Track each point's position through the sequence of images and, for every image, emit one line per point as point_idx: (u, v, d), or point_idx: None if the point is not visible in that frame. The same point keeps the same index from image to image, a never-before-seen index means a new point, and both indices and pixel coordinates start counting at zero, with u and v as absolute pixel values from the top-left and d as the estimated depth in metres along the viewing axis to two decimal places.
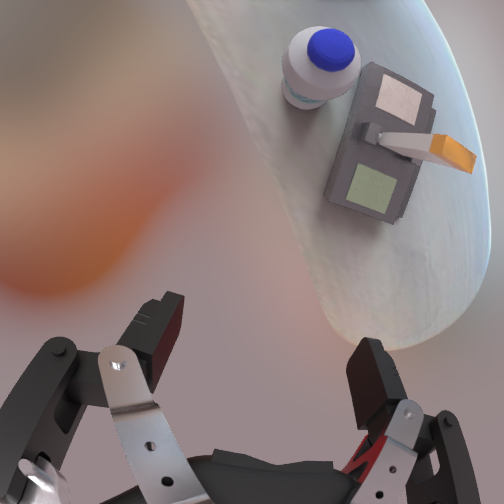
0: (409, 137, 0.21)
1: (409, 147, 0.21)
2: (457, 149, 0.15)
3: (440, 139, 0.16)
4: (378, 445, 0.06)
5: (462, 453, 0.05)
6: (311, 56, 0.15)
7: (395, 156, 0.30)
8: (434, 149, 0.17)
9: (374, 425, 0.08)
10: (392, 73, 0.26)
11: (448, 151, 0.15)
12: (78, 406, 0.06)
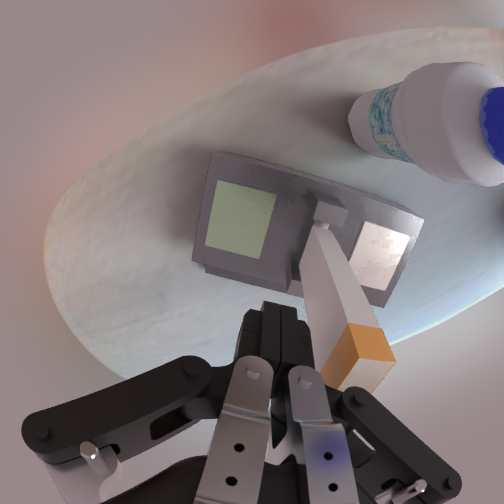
0: (349, 276, 0.14)
1: (333, 277, 0.14)
2: (366, 385, 0.09)
3: (381, 347, 0.09)
4: (293, 433, 0.06)
5: (393, 426, 0.06)
6: None
7: (292, 252, 0.24)
8: (358, 336, 0.09)
9: (275, 392, 0.09)
10: (410, 249, 0.23)
11: (363, 371, 0.09)
12: (183, 422, 0.07)
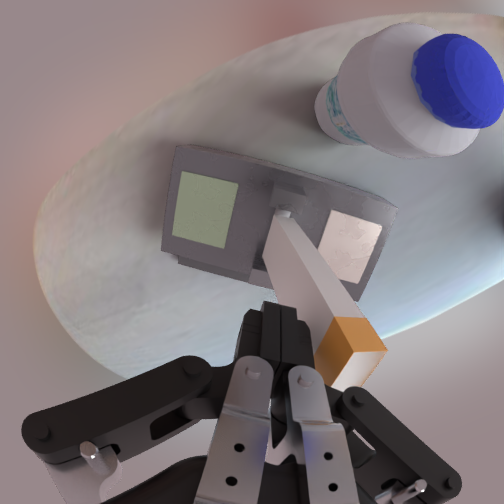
0: (322, 266, 0.14)
1: (308, 269, 0.14)
2: (360, 376, 0.09)
3: (371, 337, 0.09)
4: (293, 433, 0.06)
5: (393, 426, 0.06)
6: None
7: (257, 242, 0.24)
8: (347, 329, 0.10)
9: (275, 392, 0.09)
10: (383, 239, 0.23)
11: (357, 363, 0.09)
12: (183, 422, 0.07)
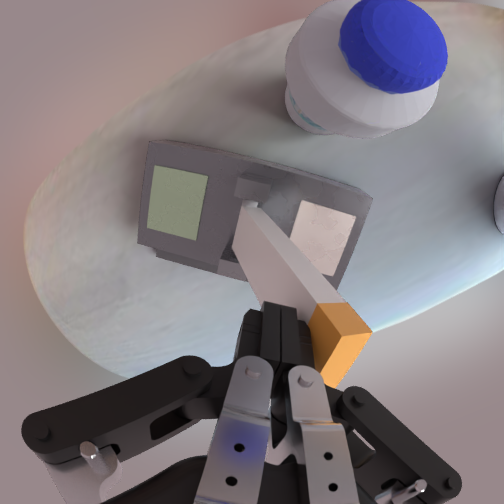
0: (297, 254, 0.15)
1: (284, 258, 0.14)
2: (348, 358, 0.10)
3: (355, 320, 0.10)
4: (293, 434, 0.06)
5: (393, 426, 0.06)
6: None
7: (228, 234, 0.24)
8: (332, 315, 0.10)
9: (275, 392, 0.09)
10: (358, 230, 0.23)
11: (345, 346, 0.10)
12: (183, 423, 0.07)
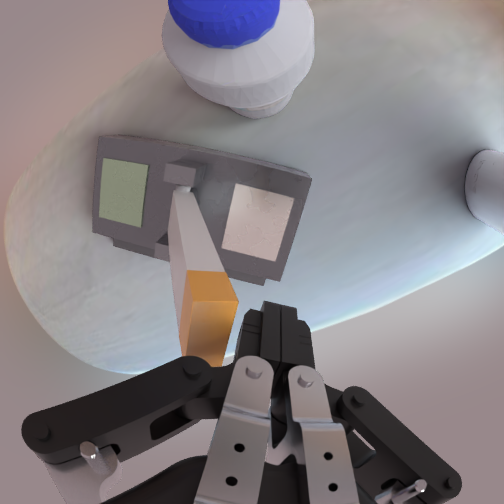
0: (199, 229, 0.15)
1: (181, 232, 0.14)
2: (217, 330, 0.10)
3: (222, 288, 0.10)
4: (293, 434, 0.06)
5: (393, 426, 0.06)
6: None
7: None
8: (196, 281, 0.10)
9: (275, 392, 0.09)
10: (298, 213, 0.23)
11: (204, 314, 0.10)
12: (183, 422, 0.07)
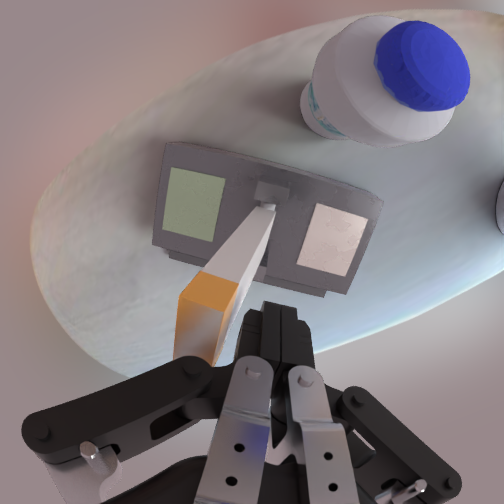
0: (250, 242, 0.15)
1: (228, 240, 0.14)
2: (203, 337, 0.10)
3: (218, 296, 0.10)
4: (293, 433, 0.06)
5: (393, 426, 0.06)
6: None
7: None
8: (199, 282, 0.10)
9: (275, 392, 0.09)
10: (369, 232, 0.24)
11: (190, 314, 0.09)
12: (183, 422, 0.07)
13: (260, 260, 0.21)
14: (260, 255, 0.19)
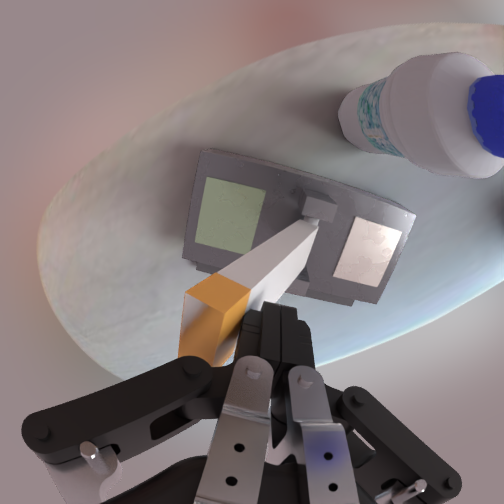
0: (279, 252, 0.14)
1: (257, 248, 0.14)
2: (205, 336, 0.10)
3: (225, 298, 0.10)
4: (293, 434, 0.06)
5: (393, 426, 0.06)
6: (494, 75, 0.05)
7: None
8: (210, 282, 0.10)
9: (275, 392, 0.09)
10: (402, 244, 0.23)
11: (194, 312, 0.09)
12: (183, 422, 0.07)
13: (297, 274, 0.20)
14: (295, 268, 0.18)
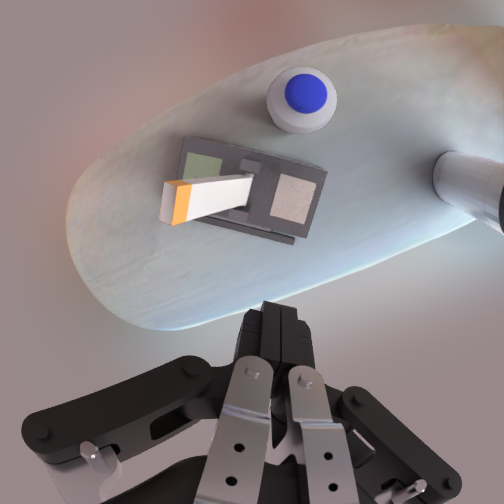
0: (215, 179, 0.28)
1: (204, 177, 0.28)
2: (170, 200, 0.23)
3: (179, 184, 0.23)
4: (293, 433, 0.06)
5: (394, 426, 0.06)
6: (295, 76, 0.18)
7: None
8: (175, 181, 0.24)
9: (275, 392, 0.09)
10: (319, 193, 0.36)
11: (167, 189, 0.23)
12: (183, 422, 0.07)
13: (237, 204, 0.33)
14: (232, 197, 0.32)
